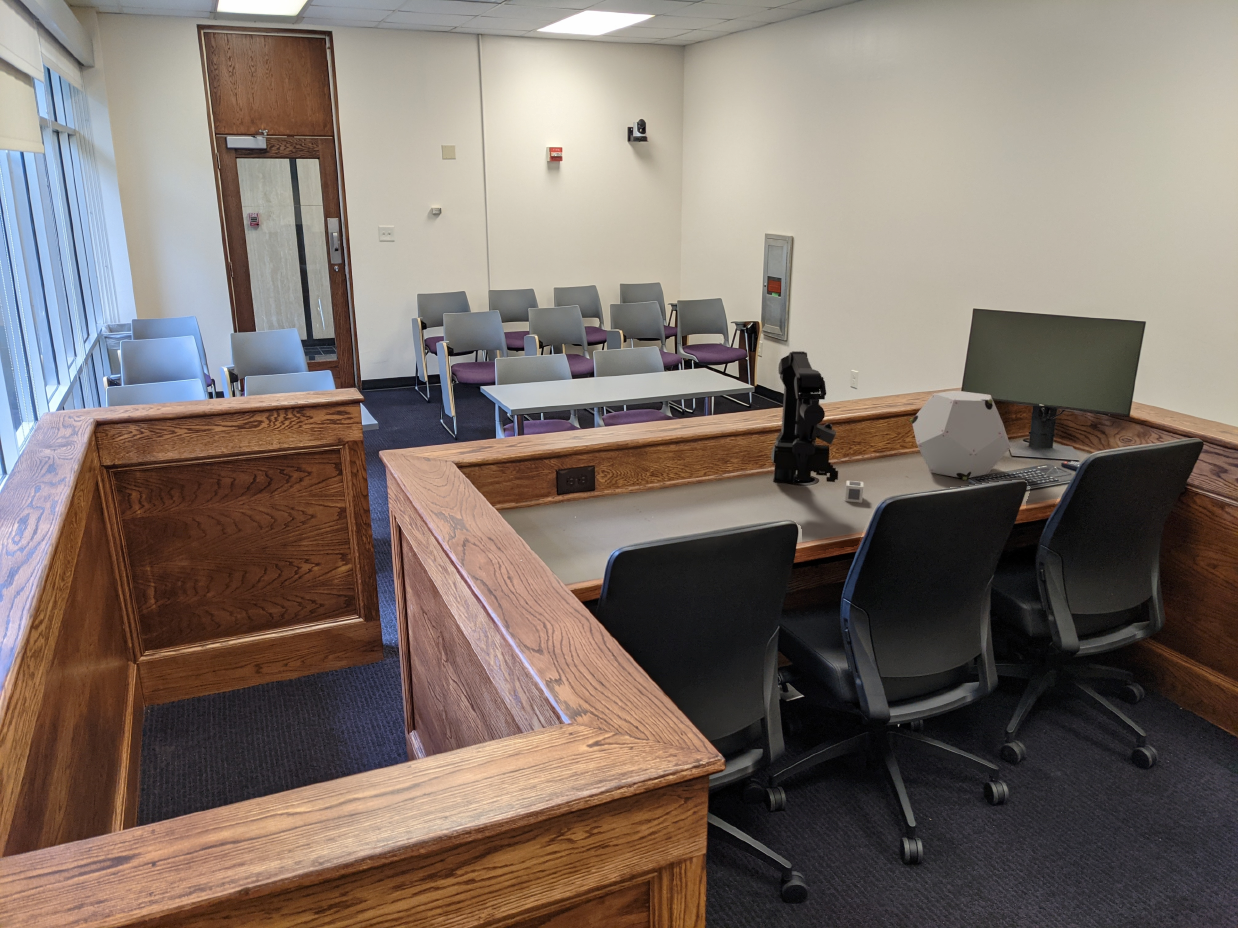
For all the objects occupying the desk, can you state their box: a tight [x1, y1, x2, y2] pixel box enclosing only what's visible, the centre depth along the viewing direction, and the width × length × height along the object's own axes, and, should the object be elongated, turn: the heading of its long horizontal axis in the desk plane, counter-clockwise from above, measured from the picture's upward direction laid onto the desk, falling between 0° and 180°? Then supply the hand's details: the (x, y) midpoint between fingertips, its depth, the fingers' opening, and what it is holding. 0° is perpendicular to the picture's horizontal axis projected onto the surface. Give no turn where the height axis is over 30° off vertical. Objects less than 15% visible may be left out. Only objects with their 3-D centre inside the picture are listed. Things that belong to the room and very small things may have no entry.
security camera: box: [773, 443, 839, 483], centre depth 253 cm, size 7×18×10 cm, turn 79°
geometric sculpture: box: [909, 390, 1012, 481], centre depth 291 cm, size 30×30×30 cm
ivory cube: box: [844, 480, 864, 503], centre depth 266 cm, size 5×5×5 cm
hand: (802, 468), depth 254 cm, fingers closed on security camera, 7 cm apart
